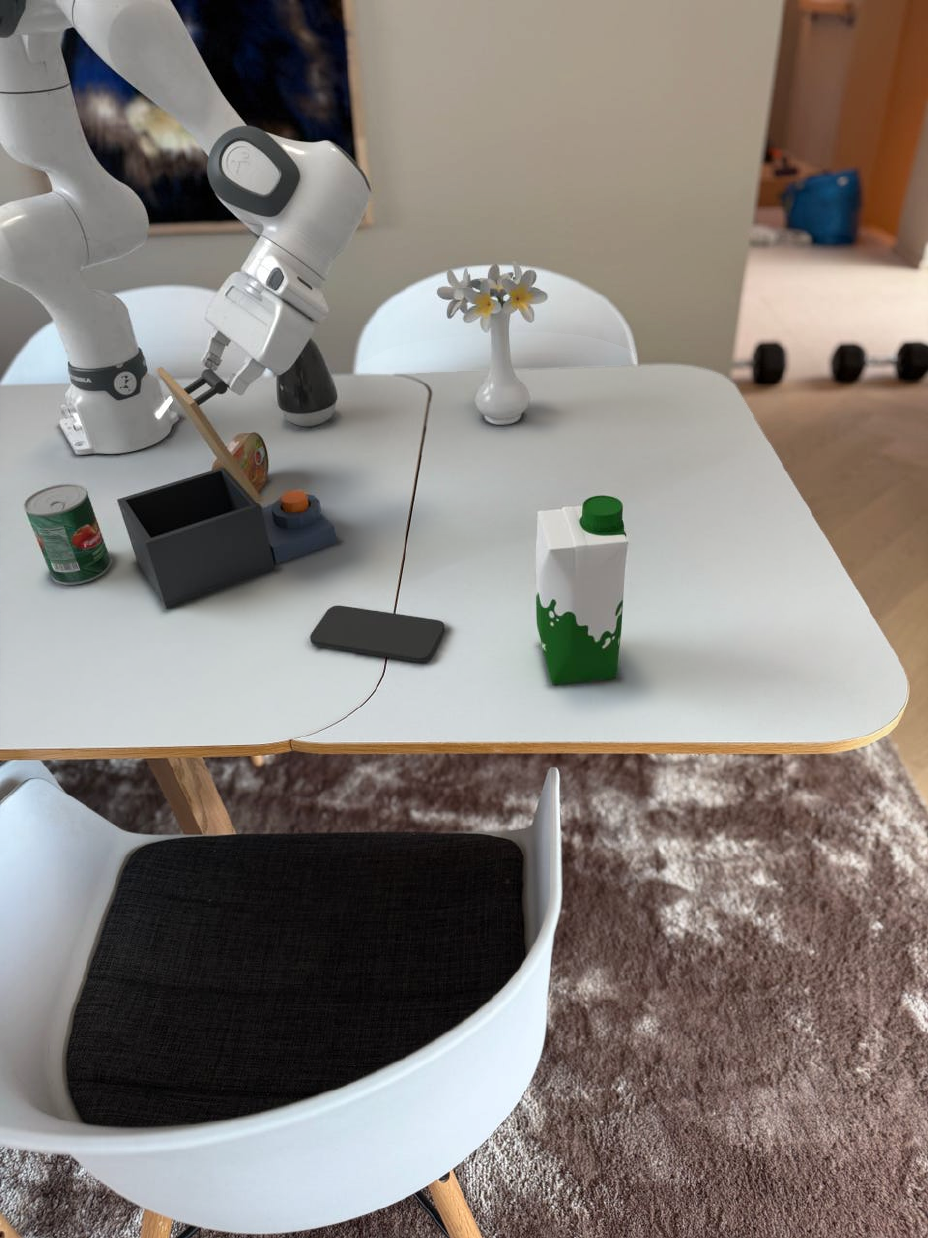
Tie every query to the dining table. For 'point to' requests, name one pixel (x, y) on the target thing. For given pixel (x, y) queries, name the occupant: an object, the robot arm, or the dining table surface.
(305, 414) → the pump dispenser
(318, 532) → the panel
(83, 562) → the canned tomato
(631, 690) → the dining table surface
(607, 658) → the milk carton
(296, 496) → the release button
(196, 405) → the lid
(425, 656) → the phone
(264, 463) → the tin
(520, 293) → the flower vase
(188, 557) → the dark grey bin
